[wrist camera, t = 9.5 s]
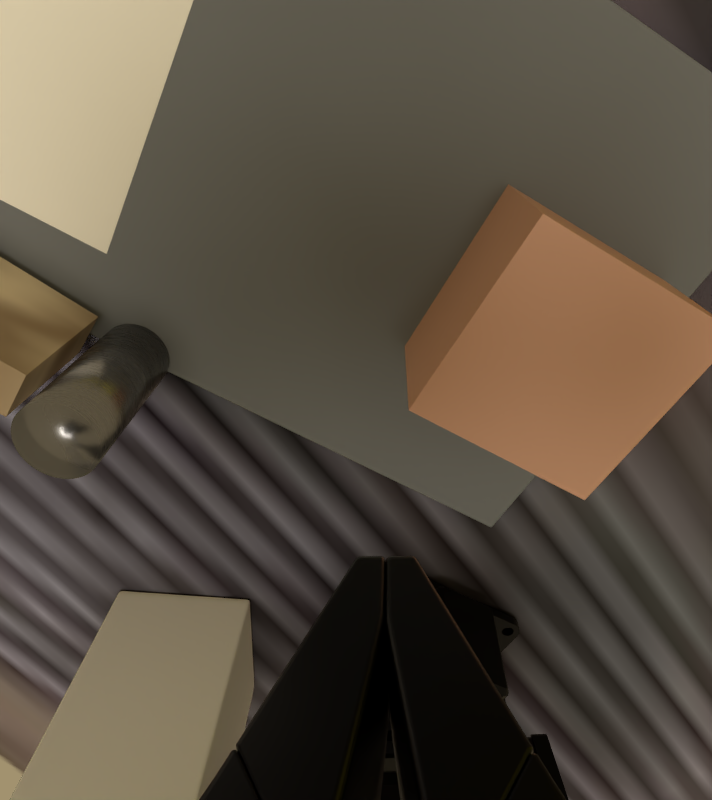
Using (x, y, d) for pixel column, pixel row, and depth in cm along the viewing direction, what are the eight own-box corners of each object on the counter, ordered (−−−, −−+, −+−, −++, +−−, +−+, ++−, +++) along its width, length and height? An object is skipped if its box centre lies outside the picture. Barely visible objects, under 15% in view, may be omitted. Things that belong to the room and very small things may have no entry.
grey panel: (490, 522, 24) (491, 527, 24) (-321, 130, 18) (-332, 130, 18) (810, 146, 17) (818, 148, 17) (-331, -668, 12) (-349, -686, 11)
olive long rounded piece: (159, 393, 22) (86, 491, 17) (96, 363, 22) (2, 455, 16) (477, -335, 13) (538, -619, 8) (382, -411, 13) (377, -768, 7)
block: (548, 422, 21) (584, 500, 18) (404, 346, 20) (408, 410, 16) (665, 281, 19) (739, 334, 15) (508, 184, 18) (543, 213, 14)
